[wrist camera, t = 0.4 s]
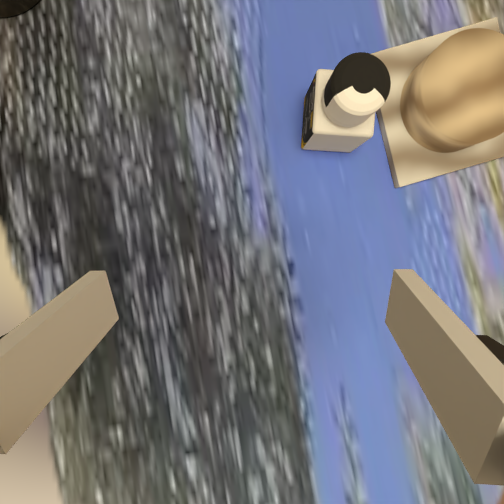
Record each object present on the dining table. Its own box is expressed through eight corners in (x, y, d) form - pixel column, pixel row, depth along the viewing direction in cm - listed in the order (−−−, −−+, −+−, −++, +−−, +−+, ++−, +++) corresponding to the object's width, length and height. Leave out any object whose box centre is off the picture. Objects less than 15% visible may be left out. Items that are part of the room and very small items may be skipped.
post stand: (363, 60, 39) (385, 29, 33) (489, 23, 39) (533, -14, 33) (394, 188, 40) (421, 181, 34) (515, 152, 41) (562, 139, 35)
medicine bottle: (304, 96, 39) (330, 38, 27) (355, 100, 39) (403, 44, 27) (300, 149, 40) (325, 115, 28) (350, 153, 40) (396, 120, 28)
